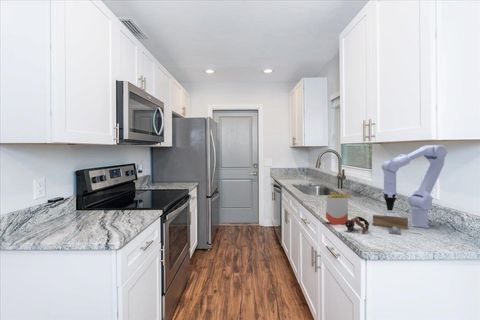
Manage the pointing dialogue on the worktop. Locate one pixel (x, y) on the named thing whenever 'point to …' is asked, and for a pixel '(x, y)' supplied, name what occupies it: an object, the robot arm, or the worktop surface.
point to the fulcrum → (394, 230)
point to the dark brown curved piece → (352, 221)
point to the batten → (390, 221)
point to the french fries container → (337, 208)
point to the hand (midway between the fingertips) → (389, 208)
